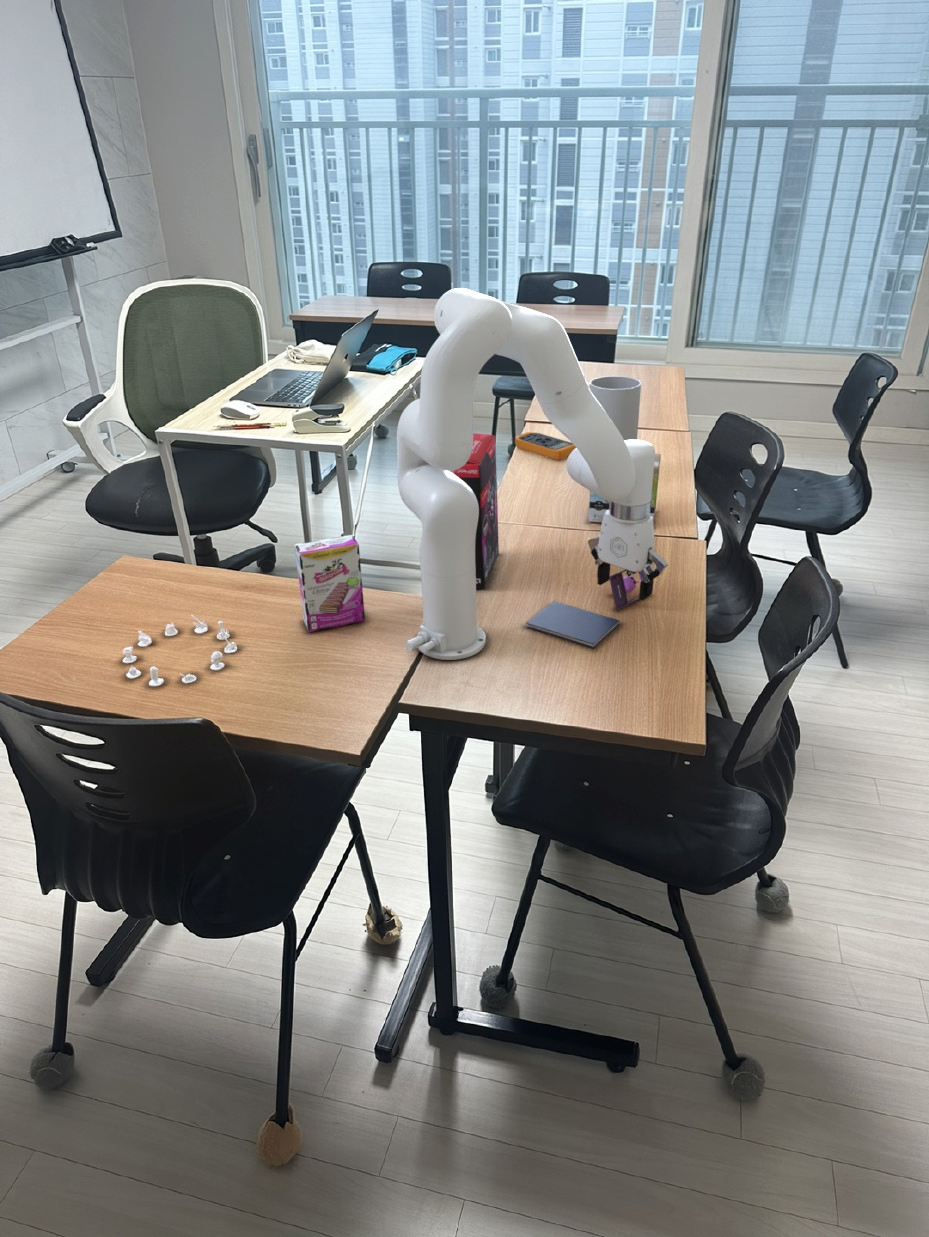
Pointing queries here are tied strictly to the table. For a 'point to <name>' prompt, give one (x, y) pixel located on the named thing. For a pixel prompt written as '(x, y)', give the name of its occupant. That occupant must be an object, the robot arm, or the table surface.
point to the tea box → (600, 506)
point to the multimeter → (544, 445)
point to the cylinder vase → (619, 402)
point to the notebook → (573, 624)
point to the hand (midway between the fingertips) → (623, 590)
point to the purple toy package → (623, 588)
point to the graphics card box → (483, 503)
